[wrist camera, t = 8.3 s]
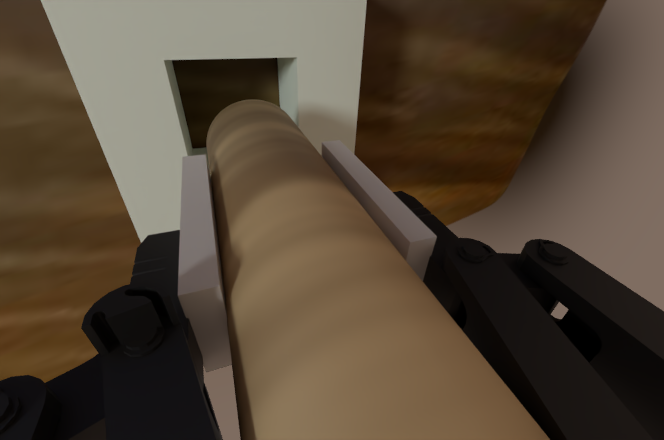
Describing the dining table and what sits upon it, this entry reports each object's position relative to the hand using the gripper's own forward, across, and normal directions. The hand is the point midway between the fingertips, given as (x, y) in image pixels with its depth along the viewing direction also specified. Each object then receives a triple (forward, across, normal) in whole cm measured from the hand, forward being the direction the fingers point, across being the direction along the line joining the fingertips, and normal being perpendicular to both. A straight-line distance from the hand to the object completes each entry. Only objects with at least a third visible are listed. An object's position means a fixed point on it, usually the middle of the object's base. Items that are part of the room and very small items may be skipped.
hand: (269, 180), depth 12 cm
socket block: (+12, 0, 0) cm, 12 cm away
